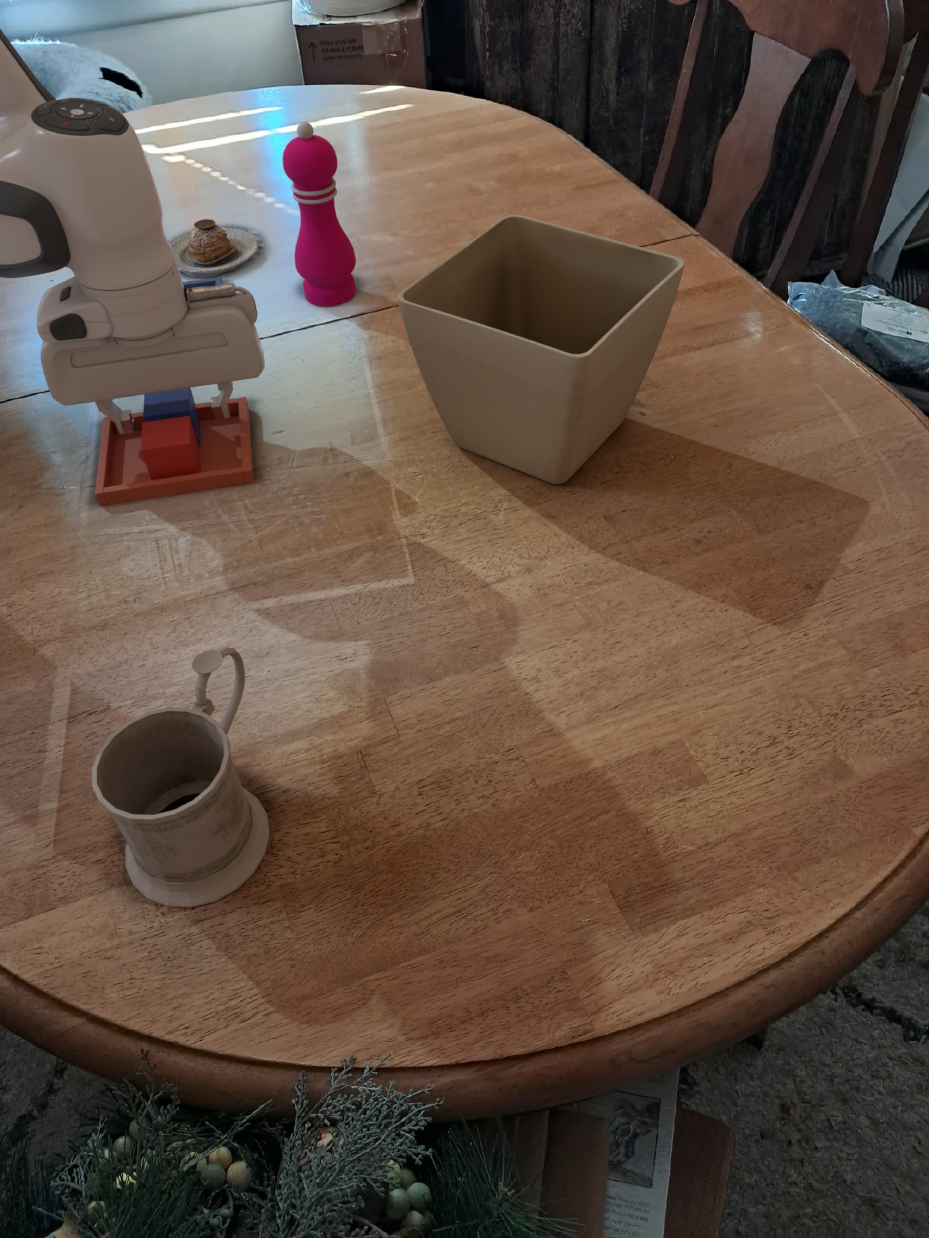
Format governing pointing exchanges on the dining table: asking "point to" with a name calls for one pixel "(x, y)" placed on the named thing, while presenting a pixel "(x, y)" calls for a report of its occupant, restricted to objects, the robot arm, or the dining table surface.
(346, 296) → the pepper mill
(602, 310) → the flower pot
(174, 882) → the mug
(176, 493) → the red tray
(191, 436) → the red block
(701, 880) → the dining table surface
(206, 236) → the pastry
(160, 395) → the blue block
